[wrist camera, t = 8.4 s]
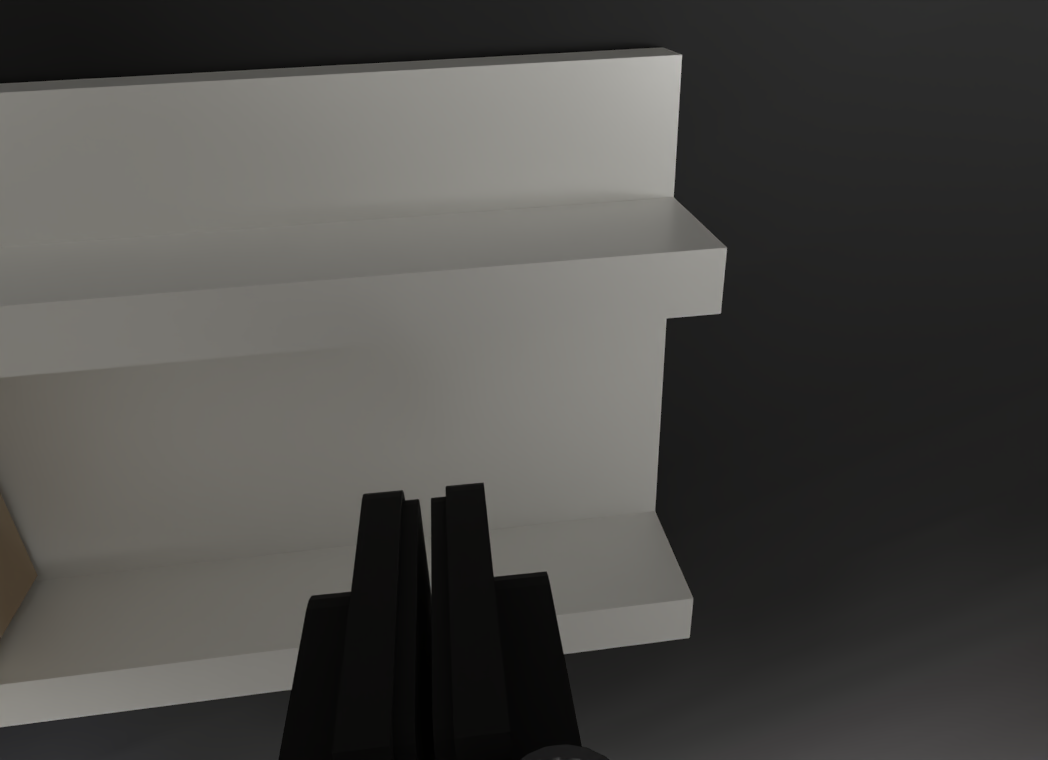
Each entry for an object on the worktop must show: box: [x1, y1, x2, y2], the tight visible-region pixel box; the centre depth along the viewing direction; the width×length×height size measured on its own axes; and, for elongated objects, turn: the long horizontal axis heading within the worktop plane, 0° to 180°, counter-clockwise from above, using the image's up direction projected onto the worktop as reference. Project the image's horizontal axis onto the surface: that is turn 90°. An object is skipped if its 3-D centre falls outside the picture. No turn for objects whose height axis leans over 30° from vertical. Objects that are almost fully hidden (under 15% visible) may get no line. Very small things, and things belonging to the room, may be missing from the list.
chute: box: [0, 47, 727, 727], centre depth 13 cm, size 17×12×4 cm
